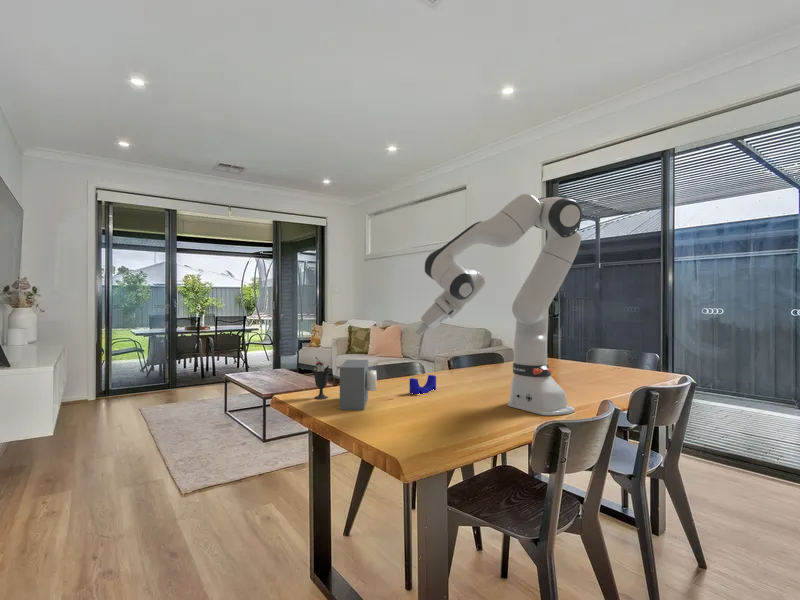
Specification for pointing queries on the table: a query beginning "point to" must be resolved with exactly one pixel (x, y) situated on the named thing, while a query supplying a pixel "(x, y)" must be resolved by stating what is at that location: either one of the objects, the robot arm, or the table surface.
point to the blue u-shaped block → (426, 388)
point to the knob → (371, 380)
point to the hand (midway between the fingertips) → (417, 333)
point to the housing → (353, 385)
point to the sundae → (321, 378)
